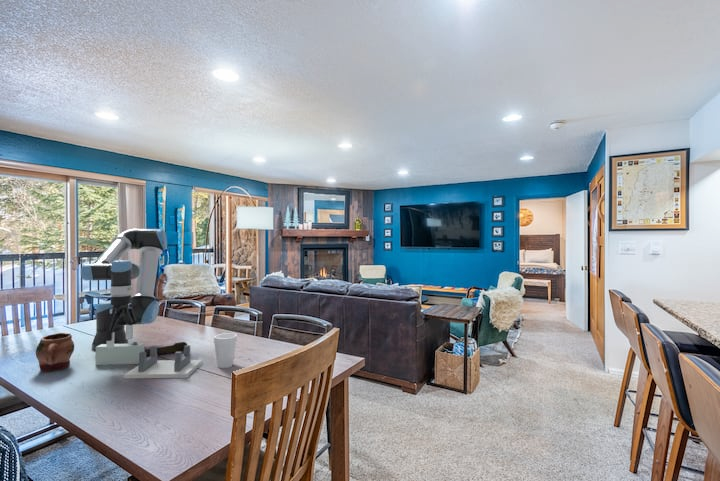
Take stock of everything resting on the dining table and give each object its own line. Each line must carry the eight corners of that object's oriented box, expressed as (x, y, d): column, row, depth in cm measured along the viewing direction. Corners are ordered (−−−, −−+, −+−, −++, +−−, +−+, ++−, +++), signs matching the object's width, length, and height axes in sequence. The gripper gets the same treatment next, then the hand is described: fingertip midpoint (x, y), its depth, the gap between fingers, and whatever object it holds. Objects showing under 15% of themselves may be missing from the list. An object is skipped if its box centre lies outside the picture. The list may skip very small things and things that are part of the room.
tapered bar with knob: (101, 362, 156) (101, 341, 156) (144, 360, 158) (144, 341, 158) (95, 365, 152) (95, 344, 152) (139, 364, 154) (140, 343, 154)
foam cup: (241, 363, 156) (241, 334, 156) (226, 370, 147) (227, 339, 147) (223, 360, 159) (224, 332, 159) (208, 367, 150) (209, 337, 150)
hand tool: (143, 359, 160) (143, 349, 160) (142, 356, 164) (143, 346, 164) (188, 352, 171) (188, 342, 171) (187, 350, 174) (187, 340, 174)
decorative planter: (72, 373, 142) (72, 339, 142) (31, 380, 135) (31, 344, 135) (75, 359, 158) (76, 328, 158) (39, 364, 151) (39, 332, 151)
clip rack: (146, 363, 154) (146, 343, 154) (202, 363, 155) (202, 343, 155) (124, 378, 138) (124, 355, 138) (186, 377, 139) (187, 355, 139)
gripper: (111, 299, 142) (111, 351, 142) (145, 291, 167) (144, 335, 167) (92, 299, 142) (91, 352, 142) (128, 291, 167) (128, 336, 167)
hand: (120, 343), depth 154 cm, fingers open, 13 cm apart
